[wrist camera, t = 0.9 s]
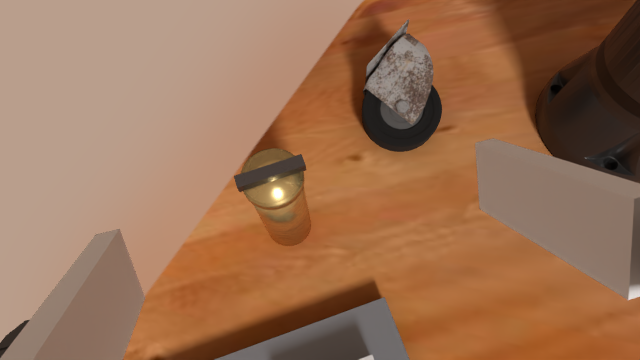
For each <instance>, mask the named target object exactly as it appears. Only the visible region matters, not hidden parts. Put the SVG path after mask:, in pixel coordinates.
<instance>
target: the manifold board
mask: <svg viewBox="0 0 640 360" xmlns="http://www.w3.org/2000/svg"><path fill="white" fill-rule="evenodd" d="M215 360H409V357H408V355H407V352H406V350H405V347H404V345H403V342H402V340H401V337H400V335H399V332H398V330H397V327H396V325H395V322H394V320H393V317H392V315H391V312H390V310H389V307H388V305H387V302H386V300H385V297H384V298H381V299H378V300H375V301H373V302H370V303H367V304H365V305H362V306H359V307H356V308H354V309H351V310H348V311H345V312H343V313H340V314H337V315H335V316H332V317H329V318H326V319H324V320H321V321H318V322H316V323H313V324H310V325H307V326H305V327H302V328H299V329H296V330H294V331H291V332H288V333H286V334H283V335H280V336H277V337H275V338H272V339H269V340H267V341H264V342H261V343H258V344H256V345H253V346H250V347H247V348H245V349H242V350H239V351H237V352H234V353H231V354H228V355H226V356H223V357H220V358H218V359H215Z"/></svg>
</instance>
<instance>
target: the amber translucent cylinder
mask: <svg viewBox="0 0 640 360" xmlns="http://www.w3.org/2000/svg"><path fill="white" fill-rule="evenodd" d="M305 170H306V166H305V163H304V160H303V157H302V155H301V154H300V155H297V156H294V155H293V154H291V153H290V152H288V151H286V150H283V149H276V148H271V149H265V150H262V151H260V152H258V153H256V154H254V155H253V156H252V157H250V158H249V159H248V160H247V162H246V163H245V165H244V166H243V168H242V171H241V174H239V175H236V176H234V178H235V182H236V185H237V188H238V190H239V192H241V191H243V192H244V194H245V195H246V197H247V198H248V200H249V201H250V202H251V203H252V204H253V205H254V206H255V208H256V210H257V212H258V214H259V216H260V218H261V219H262V221H263V223H264V225H265V227H266V229H267V231H268V232H269V234H270V236H271V238H272V239H273V240H274V241H275V242H277V243H278V244H281V245H284V246H293V245H297V244H299V243H301V242H302V241H303V240H304V239H305V238H306V237H307V236H308V234H309V232H310V229H311V220H310V215H309V210H308V205H307V200H306V196H305V191H304V173H303V171H305Z"/></svg>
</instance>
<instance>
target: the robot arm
mask: <svg viewBox="0 0 640 360" xmlns="http://www.w3.org/2000/svg"><path fill="white" fill-rule="evenodd" d="M536 123H537V127H538V130H539V133H540V135H541V138H542V140H543V142H544V143H545V145H546V146H547V148H548V149H549V151H550V152H551V153H552V154H553V155H554V156H555V157H556V158H555V157H552V156H549V155H546V154H542V153H539V152H536V151H533V150H529V149H526V148H523V147H520V146H516V145H513V144H510V143H507V142H503V141H500V140H497V139H494V138H493V139H489V140H485V141H481V142H477V143H475V147H476V162H477V176H478V191H479V206H480V210H482V211H484V212H485V213H487V214H489V215H490V216H492V217H494V218H495V219H497V220H498V221H500V222H502V223H503V224H505V225H507V226H508V227H510V228H511V229H513V230H515V231H516V232H518V233H520V234H521V235H523V236H525V237H526V238H528V239H529V240H531V241H533V242H534V243H536V244H538V245H539V246H541V247H543V248H544V249H546V250H547V251H549V252H551V253H552V254H554V255H556V256H557V257H559V258H560V259H562V260H564V261H565V262H567V263H569V264H570V265H572V266H574V267H575V268H577V269H578V270H580V271H582V272H583V273H585V274H587V275H588V276H590V277H592V278H593V279H595V280H596V281H598V282H600V283H601V284H603V285H605V286H606V287H608V288H610V289H611V290H613V291H614V292H616V293H618V294H619V295H621V296H623V297H624V298H626V299H627V300H630V299H633V298H636V297H640V0H637V1H636V2H635V3H634V4H633V6H632V7H631V8H630V9H629V10H628V12H627V13H626V14H625V15H624V17H623V18H622V19H621V20H620V21H619V23H618V24H617V25H616V26H615V27H614V29H613V30H612V31H611V32H610V34H609V35H608V36H607V37H606V39H605V40H604V41H603V42H602V43H601V44H600V45H599V46H597V47H595V48H594V49H592V50H591V51H589V52H587V53H586V54H584V55H582V56H581V57H579V58H578V59H576V60H574V61H573V62H571V63H569V64H568V65H566V66H565V67H563V68H562V69H561V70H559V71H558V72H557V73H556V74H555V75H554V76H553V77H552V79H551V80H550V81H549V83H548V84H547V85H546V87H545V88H544V90H543V91H542V93H541V94H540V96H539V99H538V102H537V106H536ZM144 300H145V296H144V294H143V291H142V288H141V286H140V283H139V280H138V278H137V275H136V272H135V270H134V267H133V264H132V261H131V259H130V256H129V253H128V251H127V248H126V245H125V243H124V240H123V237H122V234H121V232H120V229H117V230H113V231H109V232H105V233H101V234H97V235H95V237H94V238H93V239H92V240H91V242H90V243H89V244H88V246H87V247H86V248H85V249H84V251H83V252H82V253H81V255H80V256H79V257H78V258H77V260H76V261H75V262H74V264H73V265H72V266H71V267H70V269H69V270H68V271H67V273H66V274H65V275H64V277H63V278H62V279H61V280H60V282H59V283H58V284H57V286H56V287H55V288H54V290H53V291H52V292H51V293H50V295H49V296H48V297H47V299H46V300H45V301H44V302H43V304H42V305H41V306H40V307H39V309H38V310H37V311H36V313H35V314H34V315H33V317H32V318H31V319H30V320H27V321H24V322H23V323H22V324H20V325H19V326H18V327H17V328H15V329H14V330H13V331H12V332H10V333H9V334H8V335H6V337H5V338H4V339H3V340H2V342H1V343H0V360H123V357H124V354H125V352H126V349H127V346H128V343H129V341H130V338H131V335H132V333H133V330H134V327H135V324H136V322H137V319H138V316H139V313H140V311H141V308H142V305H143V302H144Z"/></svg>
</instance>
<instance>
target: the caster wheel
mask: <svg viewBox="0 0 640 360" xmlns="http://www.w3.org/2000/svg"><path fill="white" fill-rule="evenodd" d="M408 23H409V20H407V21H406V22H405V23H404V25H403V26H402V27H401V28H400V29H399V30H398V31H397V32H396V33H395V35H394V36H393V37H392V38H391V39H390V40H389V41H388V42H387V43H386V45H385V46H384V47H383V48H382V49H381V50H380V51H379V52H378V53H377V55H376V56H375V57H374V58H373V59H372V60H371V61H370V62H369V63H368V65H367V71H366V82H365V87H364V89H363V94H364V100H363V106H362V122H363V126H364V129H365V131H366V133H367V134H368V136H369V137H370V138H371V140H372V141H374V142H375V143H376V144H377V145H379V146H381V147H382V148H385V149H387V150H391V151H397V152H403V151H409V150H413V149H415V148H417V147H419V146H421V145H422V144H424V143H425V142H426V141H427V140H428V139H429V138H430V137H431V135H432V134H433V133H434V131H435V130H436V128H437V126H438V124H439V122H440V119H441V114H442V105H441V100H440V97H439V95H438V93H437V91H436V89H435V88H434V87H433V85H432V81H433V65H432V61H431V57H430V55H429V52H428V50H427V49H426V47H425V46H424V45H423V44H422V43H420V42H419V41H418V40H416V39H415V38H414V37H412V36H411V35H410V34H406V30H407V27H408Z"/></svg>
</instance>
